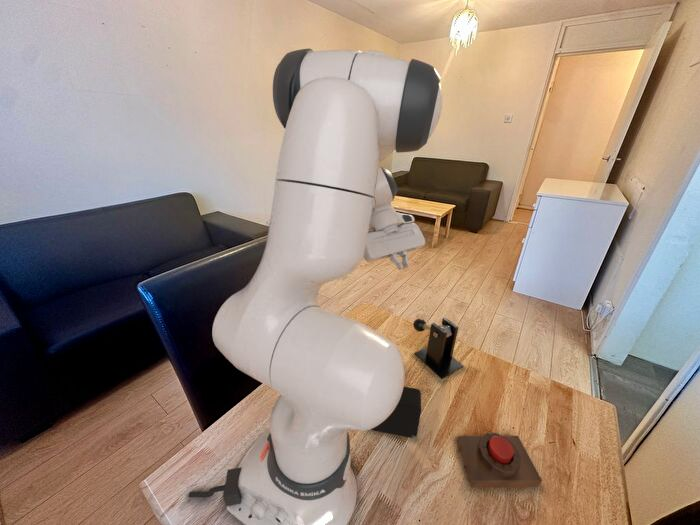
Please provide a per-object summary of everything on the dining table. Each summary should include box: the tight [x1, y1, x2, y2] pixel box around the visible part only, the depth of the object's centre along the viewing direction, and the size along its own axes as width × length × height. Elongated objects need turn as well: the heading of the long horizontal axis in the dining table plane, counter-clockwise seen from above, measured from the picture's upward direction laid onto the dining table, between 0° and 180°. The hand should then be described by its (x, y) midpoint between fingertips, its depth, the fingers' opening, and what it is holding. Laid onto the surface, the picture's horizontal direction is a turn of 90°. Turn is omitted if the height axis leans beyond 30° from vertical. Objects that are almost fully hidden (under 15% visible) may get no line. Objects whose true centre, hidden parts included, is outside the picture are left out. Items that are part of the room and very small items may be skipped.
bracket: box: [414, 317, 464, 380], centre depth 74 cm, size 10×8×13 cm
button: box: [488, 436, 514, 464], centre depth 52 cm, size 4×4×2 cm
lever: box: [412, 318, 452, 338], centre depth 76 cm, size 12×4×4 cm, turn 30°
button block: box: [457, 432, 543, 489], centre depth 53 cm, size 12×8×4 cm, turn 90°
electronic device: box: [370, 386, 422, 439], centre depth 59 cm, size 4×10×10 cm, turn 78°
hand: (404, 268), depth 80 cm, fingers closed
